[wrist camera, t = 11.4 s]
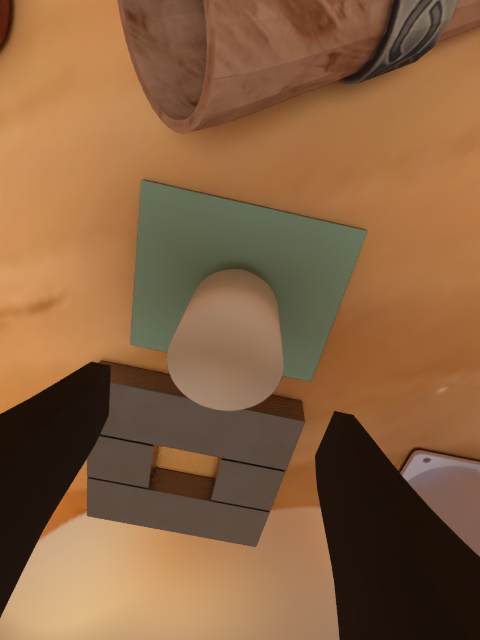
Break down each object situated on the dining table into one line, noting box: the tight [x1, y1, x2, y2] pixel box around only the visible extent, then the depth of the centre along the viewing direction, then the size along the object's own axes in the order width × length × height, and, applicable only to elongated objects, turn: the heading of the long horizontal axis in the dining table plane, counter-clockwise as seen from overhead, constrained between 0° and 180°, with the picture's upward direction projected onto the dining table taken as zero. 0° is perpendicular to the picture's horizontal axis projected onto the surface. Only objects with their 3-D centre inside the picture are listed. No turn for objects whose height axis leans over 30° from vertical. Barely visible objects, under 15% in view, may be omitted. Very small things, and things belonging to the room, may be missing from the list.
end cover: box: [167, 269, 284, 411], centre depth 16 cm, size 5×5×7 cm
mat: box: [130, 180, 367, 382], centre depth 20 cm, size 12×10×1 cm
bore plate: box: [87, 361, 305, 547], centre depth 25 cm, size 14×14×2 cm
